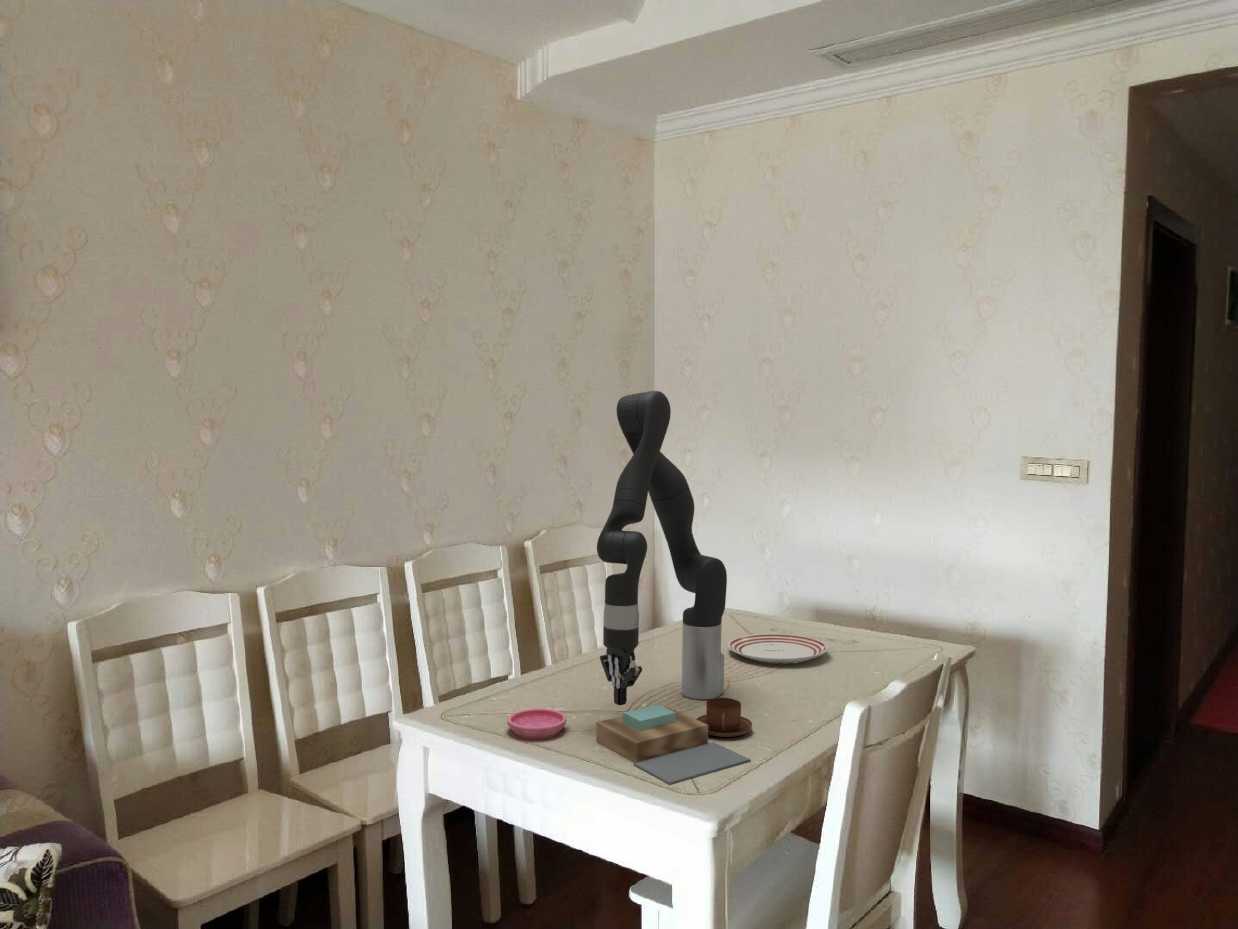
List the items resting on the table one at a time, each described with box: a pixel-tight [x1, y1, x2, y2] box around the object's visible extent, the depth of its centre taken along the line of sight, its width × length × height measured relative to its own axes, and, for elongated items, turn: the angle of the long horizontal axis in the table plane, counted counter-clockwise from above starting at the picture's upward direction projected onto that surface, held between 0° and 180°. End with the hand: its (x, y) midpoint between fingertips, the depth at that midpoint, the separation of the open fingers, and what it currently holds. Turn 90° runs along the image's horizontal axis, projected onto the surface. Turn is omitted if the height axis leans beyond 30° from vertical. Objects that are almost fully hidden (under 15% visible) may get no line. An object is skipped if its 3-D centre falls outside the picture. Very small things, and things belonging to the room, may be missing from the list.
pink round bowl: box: [506, 708, 567, 740], centre depth 198 cm, size 12×12×3 cm
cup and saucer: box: [695, 697, 753, 738], centre depth 199 cm, size 12×12×6 cm
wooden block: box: [595, 705, 709, 763], centre depth 191 cm, size 18×14×4 cm
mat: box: [633, 741, 751, 785], centre depth 181 cm, size 20×11×1 cm, turn 125°
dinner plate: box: [727, 633, 829, 664], centre depth 259 cm, size 27×27×3 cm
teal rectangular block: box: [622, 704, 676, 731], centre depth 192 cm, size 9×6×2 cm, turn 125°
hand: (619, 704), depth 200 cm, fingers closed
